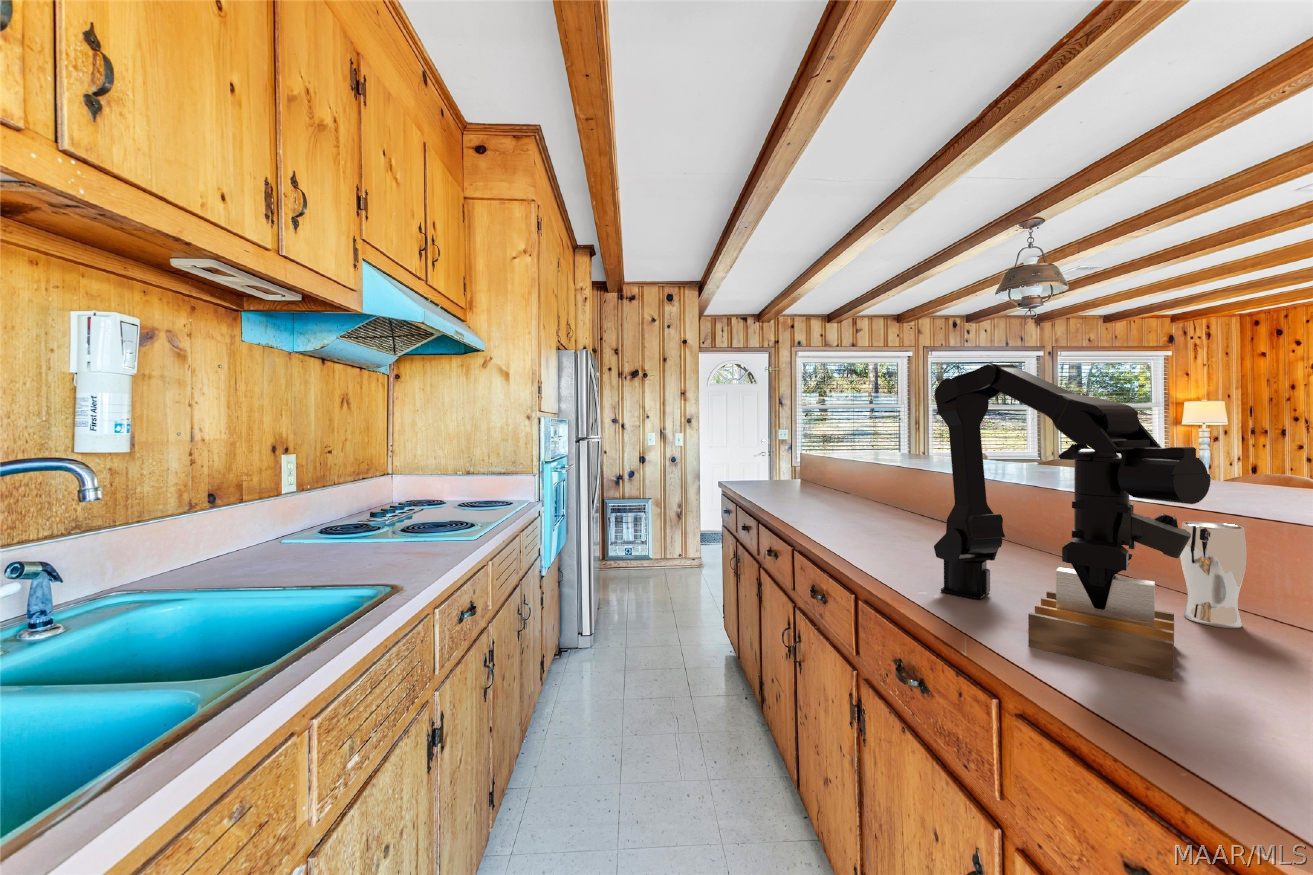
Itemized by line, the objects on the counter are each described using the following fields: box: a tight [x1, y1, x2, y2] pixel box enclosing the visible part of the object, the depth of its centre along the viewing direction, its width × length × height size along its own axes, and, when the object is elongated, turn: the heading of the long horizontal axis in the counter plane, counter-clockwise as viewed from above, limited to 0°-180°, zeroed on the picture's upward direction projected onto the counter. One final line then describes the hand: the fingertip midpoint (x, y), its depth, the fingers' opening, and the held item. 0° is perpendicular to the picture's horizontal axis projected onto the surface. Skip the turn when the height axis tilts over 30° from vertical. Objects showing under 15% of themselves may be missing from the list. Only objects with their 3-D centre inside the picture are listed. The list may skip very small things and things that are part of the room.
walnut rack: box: [1027, 590, 1175, 682], centre depth 70 cm, size 14×14×4 cm
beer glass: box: [1179, 520, 1248, 629], centre depth 78 cm, size 7×7×15 cm
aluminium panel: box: [1055, 566, 1156, 627], centre depth 70 cm, size 10×2×7 cm, turn 44°
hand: (1100, 606), depth 70 cm, fingers closed on aluminium panel, 2 cm apart
